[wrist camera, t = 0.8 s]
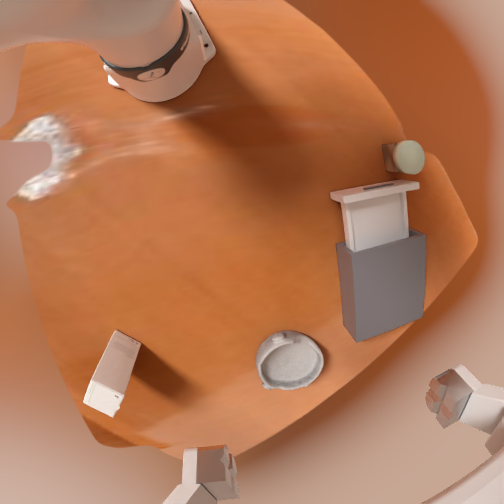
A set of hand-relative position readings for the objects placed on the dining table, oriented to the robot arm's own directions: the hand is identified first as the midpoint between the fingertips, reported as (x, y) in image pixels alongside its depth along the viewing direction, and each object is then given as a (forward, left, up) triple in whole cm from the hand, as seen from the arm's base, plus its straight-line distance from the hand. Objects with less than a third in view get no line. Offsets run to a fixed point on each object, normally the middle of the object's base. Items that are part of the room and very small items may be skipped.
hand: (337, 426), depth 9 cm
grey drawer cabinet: (+18, +23, -41) cm, 50 cm away
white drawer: (+8, +23, -41) cm, 48 cm away
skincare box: (+21, -31, -41) cm, 56 cm away
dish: (+31, +2, -42) cm, 52 cm away
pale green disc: (-5, +30, -37) cm, 48 cm away
